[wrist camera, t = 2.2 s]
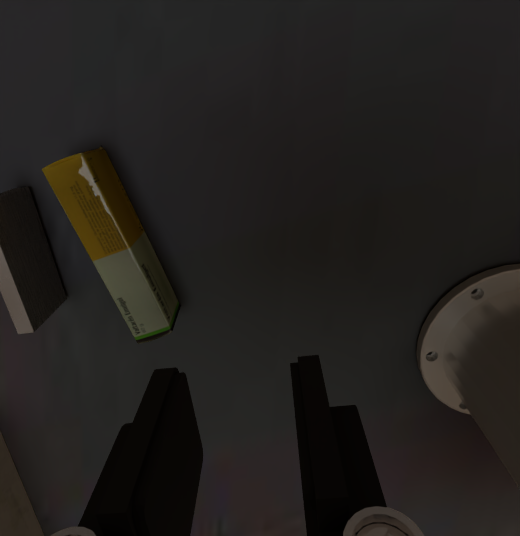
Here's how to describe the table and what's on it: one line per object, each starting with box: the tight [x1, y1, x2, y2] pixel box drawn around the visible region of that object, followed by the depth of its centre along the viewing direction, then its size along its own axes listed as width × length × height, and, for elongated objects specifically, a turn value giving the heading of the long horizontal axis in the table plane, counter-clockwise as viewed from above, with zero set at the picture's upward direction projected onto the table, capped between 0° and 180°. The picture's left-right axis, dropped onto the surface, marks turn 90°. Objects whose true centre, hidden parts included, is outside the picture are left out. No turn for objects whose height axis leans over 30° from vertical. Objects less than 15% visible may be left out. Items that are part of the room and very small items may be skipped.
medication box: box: [42, 146, 181, 344], centre depth 25 cm, size 12×3×4 cm, turn 20°
